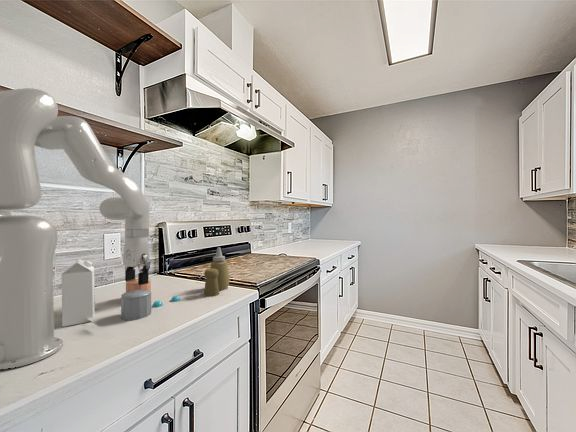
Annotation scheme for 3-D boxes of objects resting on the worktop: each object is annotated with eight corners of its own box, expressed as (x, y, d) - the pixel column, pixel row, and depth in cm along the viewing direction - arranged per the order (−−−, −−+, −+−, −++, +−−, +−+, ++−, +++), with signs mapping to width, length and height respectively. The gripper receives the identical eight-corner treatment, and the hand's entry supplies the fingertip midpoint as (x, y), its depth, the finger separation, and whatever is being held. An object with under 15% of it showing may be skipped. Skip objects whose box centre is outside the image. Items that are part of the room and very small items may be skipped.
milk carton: (62, 327, 75) (60, 260, 75) (66, 319, 81) (65, 257, 81) (93, 321, 79) (92, 257, 79) (95, 314, 85) (94, 254, 85)
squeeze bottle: (205, 291, 108) (205, 247, 108) (223, 287, 114) (223, 245, 113) (214, 296, 102) (214, 249, 102) (233, 291, 108) (232, 247, 107)
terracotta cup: (132, 307, 90) (132, 284, 90) (122, 303, 95) (122, 281, 95) (154, 301, 97) (154, 279, 96) (144, 297, 101) (144, 276, 101)
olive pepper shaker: (199, 299, 99) (199, 269, 98) (211, 294, 104) (211, 266, 104) (212, 301, 96) (211, 271, 96) (223, 297, 101) (223, 268, 101)
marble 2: (172, 305, 91) (176, 296, 92) (167, 302, 93) (171, 294, 93) (179, 306, 93) (183, 298, 94) (175, 304, 95) (178, 295, 96)
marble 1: (164, 309, 89) (156, 312, 86) (159, 307, 90) (150, 310, 88) (164, 300, 88) (155, 303, 86) (159, 298, 90) (150, 301, 87)
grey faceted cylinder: (129, 327, 75) (128, 299, 74) (117, 321, 79) (116, 294, 79) (156, 318, 81) (155, 292, 81) (143, 313, 85) (143, 288, 85)
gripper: (115, 234, 97) (114, 281, 97) (137, 235, 87) (137, 287, 87) (136, 233, 103) (136, 277, 103) (160, 234, 93) (159, 283, 93)
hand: (136, 282), depth 95 cm, fingers open, 9 cm apart
